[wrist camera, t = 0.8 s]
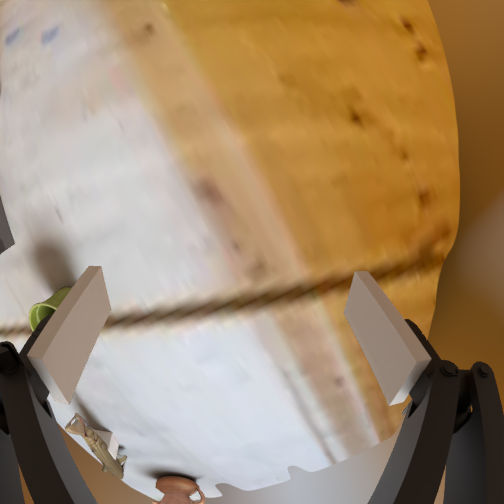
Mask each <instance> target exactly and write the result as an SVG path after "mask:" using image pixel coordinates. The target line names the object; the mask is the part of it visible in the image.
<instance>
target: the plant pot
mask: <svg viewBox="0 0 504 504" xmlns="http://www.w3.org/2000/svg"><path fill="white" fill-rule="evenodd" d="M71 289H72V287H64V288H62V289H60V290H59V291H58V292H56V293H55V294H54V295H53V296H51V297H50V298H49V299H47V300H46V301H44V302H42V303H37V304H35V305H34V306H33V307H32V308H31V309H30V312H29V323H30V326H31V329H32V331H34V330H35V328H36V327H37V325H38V324H39V322H40V321H41V320H42V319H44V318H45V317H46V316H48V315H53V314H54V312H55V311H56V310H57V308H58V307H59V305H60V304H61V303H62V301H63V300H64V298H65V297H66V296H67V294H68V293H69V291H70V290H71Z"/></svg>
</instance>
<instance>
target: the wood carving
mask: <svg viewBox="0 0 504 504" xmlns="http://www.w3.org/2000/svg"><path fill="white" fill-rule="evenodd" d="M74 419H76V421H75V422H74V423H73V424H72V425H71V423H72V421H73V420H74ZM83 421H84V422H85V423H86V421H85V420H84V419H83V418H82V417H81V416H80V415H79V414H77V413H75V416H74V417H73V418H72V420H71V421H70V422H69V423H68V424H67V425H66V427H65V430H66V431H67V432H69V433H72V434H76V435H81V436H82V437H83V438H84V439H85V441H86V442H87V444H88V446H89V447H90V449H91V450H92V452H93V453H94V454H95V455H96V457H97V458H98V459H99V460H100V461H101V462H102V464H103V465H104V466H103V469H102V470H103V471H104V472H107V471H108V470H109V472H110V473H111V474H112V475H114V476H115V477H117V478H119V479H123V475H124V474H123V472H124V467H125V462H126V459H127V456H126V455H124V456H122V455H118V454H117V451H118V446H119V442H118V441H117V439H116V437H115V436H114V434H113V433H112V432H107V431H100V430H95V429H92V428H91V427H90V426H89V425H88V424H87V423H86V424H87V425H88V426H86V425H85V424H84V422H83ZM122 462H124V464H123V465H121V463H122Z"/></svg>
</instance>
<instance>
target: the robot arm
mask: <svg viewBox="0 0 504 504" xmlns="http://www.w3.org/2000/svg"><path fill="white" fill-rule="evenodd" d="M110 311H111V306H110V302H109V298H108V294H107V290H106V285H105V281H104V276H103V272H102V267H101V266H89V267H88V268H87V269H86V270H85V272H84V273H83V274H82V276H81V277H80V278H79V279H78V281H77V282H76V283H75V285H74V286H73V287H72V289H71V290H70V291H69V293H68V294H67V296H66V297H65V298H64V300H63V301H62V303H61V304H60V305H59V307H58V308H57V310H56V311H55V312H54V314H53V315H48V316H46V317H45V318H44V319H42V320H41V321H40V322H39V324H38V325H37V327H36V328H35V330H34V331H33V333H32V334H31V336H30V337H29V339H28V340H27V342H26V344H25V345H24V347H23V348H22V350H21V351H20V353H19V354H18V352H17V350H16V348H15V347H14V345H13V344H12V343H11V342H7V341H5V342H1V343H0V504H25V502H24V497H23V492H22V487H21V481H20V475H19V467H18V463H19V466H20V468H21V471H22V474H23V477H24V479H25V482H26V485H27V487H28V490H29V492H30V494H31V497H32V499H33V501H34V504H98V503H97V502H96V500H95V498H94V497H93V495H92V493H91V492H90V490H89V488H88V487H87V485H86V483H85V481H84V480H83V478H82V476H81V474H80V472H79V470H78V468H77V466H76V464H75V462H74V460H73V458H72V456H71V454H70V452H69V450H68V448H67V446H66V444H65V441H64V439H63V437H62V434H61V432H60V429H59V427H58V424H57V422H56V419H55V417H54V414H53V411H52V408H51V405H50V403H49V401H48V400H47V397H48V395H49V392H50V394H51V395H52V397H53V398H54V400H55V401H58V402H61V403H65V404H70V402H71V399H72V396H73V394H74V391H75V389H76V386H77V384H78V381H79V379H80V377H81V374H82V372H83V369H84V367H85V365H86V363H87V360H88V358H89V356H90V353H91V351H92V349H93V347H94V345H95V342H96V340H97V338H98V336H99V334H100V332H101V330H102V328H103V326H104V324H105V322H106V319H107V317H108V315H109V313H110ZM344 315H345V317H346V318H347V320H348V322H349V324H350V326H351V328H352V330H353V332H354V334H355V336H356V338H357V340H358V342H359V344H360V346H361V348H362V350H363V352H364V354H365V356H366V358H367V360H368V362H369V364H370V366H371V368H372V370H373V372H374V374H375V377H376V379H377V381H378V383H379V385H380V387H381V389H382V391H383V394H384V396H385V398H386V400H387V402H388V404H389V406H390V405H394V404H397V403H401V402H404V400H405V399H406V397H407V396H408V394H410V396H411V398H412V400H411V402H410V403H409V404H408V406H407V407H406V408H405V410H404V411H403V413H402V414H405V412H406V411H407V412H406V415H405V418H404V421H403V424H402V427H401V430H400V433H399V436H398V438H397V441H396V443H395V446H394V448H393V451H392V453H391V456H390V458H389V461H388V463H387V465H386V468H385V470H384V472H383V474H382V476H381V478H380V481H379V483H378V485H377V487H376V489H375V491H374V493H373V495H372V496H371V499H370V500H369V502H368V504H434V501H435V498H436V495H437V492H438V489H439V486H440V483H441V479H442V476H443V472H444V469H445V465H446V476H445V491H444V501H443V504H504V415H503V410H502V405H501V401H500V396H499V392H498V388H497V384H496V380H495V377H494V373H493V371H492V369H491V368H490V367H489V366H488V365H487V364H485V363H483V362H476V363H474V364H473V366H472V367H471V369H470V370H459V369H458V367H457V366H456V365H455V364H454V363H452V362H450V361H447V360H441V359H440V357H439V356H438V354H437V353H436V352H435V350H434V349H433V347H432V346H431V344H430V343H429V342H428V340H426V337H425V336H424V335H423V334H422V332H421V330H420V329H419V328H418V326H417V325H416V324H414V323H413V322H412V321H411V320H409V319H403V317H402V316H401V314H400V313H399V312H398V310H397V309H396V308H395V306H394V305H393V304H392V302H391V301H390V300H389V298H388V297H387V296H386V294H385V293H384V292H383V290H382V289H381V288H380V287H379V285H378V284H377V283H376V281H375V280H374V279H373V278H372V276H371V275H370V274H369V273H368V271H355V274H354V277H353V281H352V285H351V289H350V292H349V296H348V300H347V303H346V307H345V310H344ZM471 406H472V408H473V409H472V412H471Z"/></svg>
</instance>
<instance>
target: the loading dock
mask: <svg viewBox="0 0 504 504" xmlns="http://www.w3.org/2000/svg"><path fill="white" fill-rule="evenodd" d="M14 244H15V243H14V240H13V237H12V234H11V231H10V228H9V225H8V222H7V219H6V215H5V212H4V208H3V205H2V201H1V197H0V254H1V253H2V252H4V251H5V250H7V249H8V248H10V247H11V246H12V245H14Z"/></svg>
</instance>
